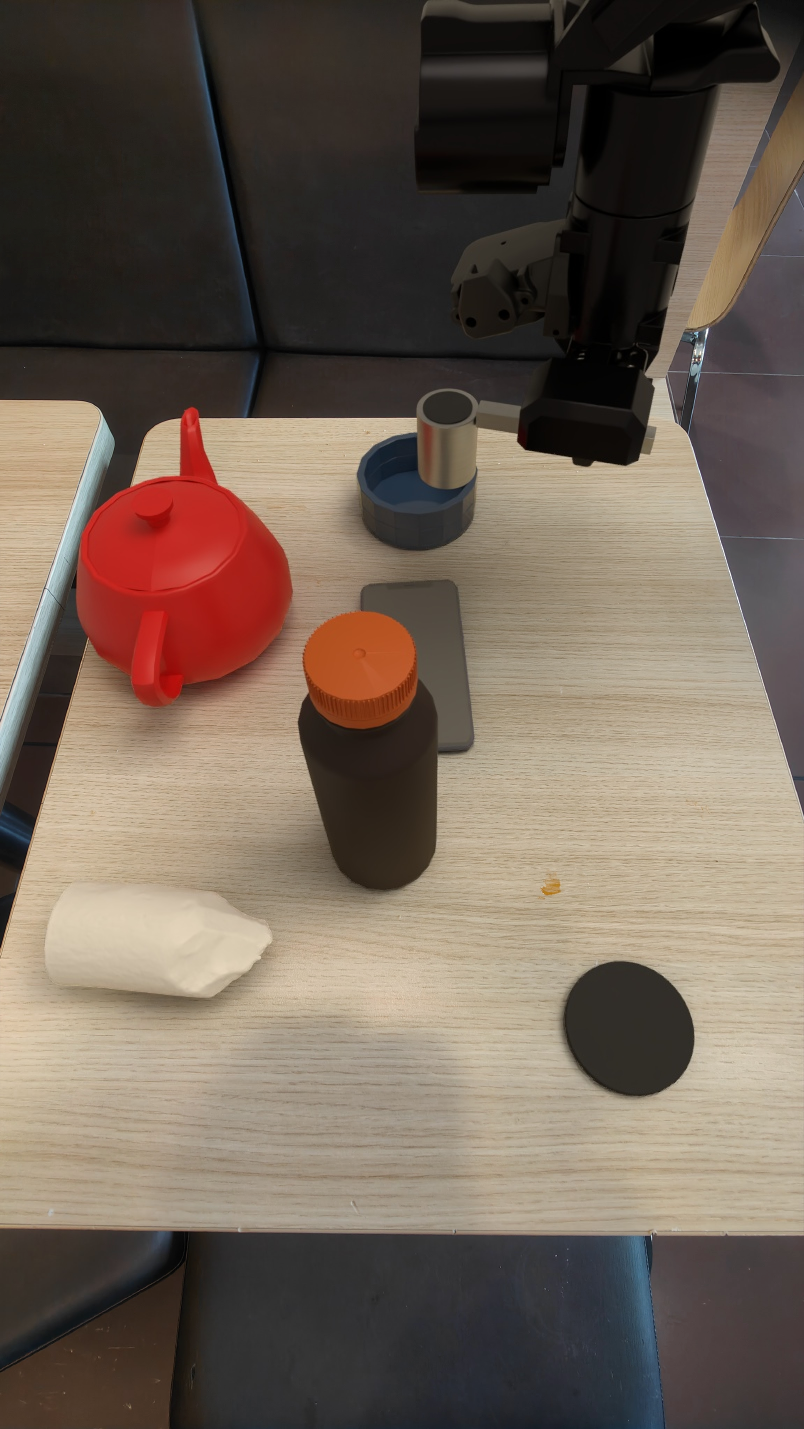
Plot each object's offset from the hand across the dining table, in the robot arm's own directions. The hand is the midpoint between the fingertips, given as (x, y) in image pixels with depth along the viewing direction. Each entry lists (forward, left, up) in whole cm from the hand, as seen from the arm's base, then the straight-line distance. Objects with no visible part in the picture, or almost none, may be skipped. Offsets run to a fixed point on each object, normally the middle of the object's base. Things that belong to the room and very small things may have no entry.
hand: (583, 456), depth 50 cm
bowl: (+8, -11, -13) cm, 19 cm away
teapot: (+27, -4, -13) cm, 31 cm away
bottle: (+17, +17, -13) cm, 28 cm away
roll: (+31, +22, -13) cm, 40 cm away
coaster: (+6, +31, -13) cm, 35 cm away
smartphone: (+12, +4, -13) cm, 18 cm away
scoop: (+3, -2, -3) cm, 5 cm away
